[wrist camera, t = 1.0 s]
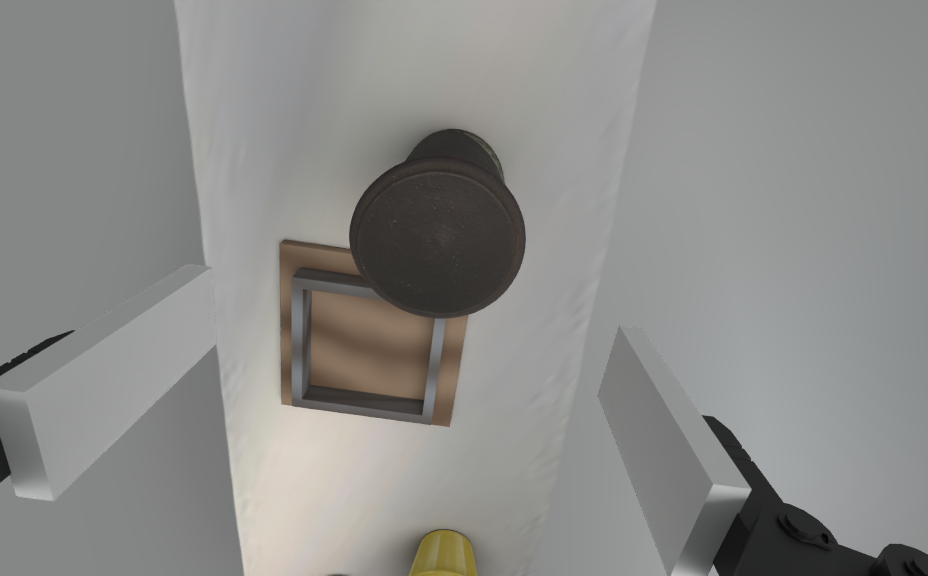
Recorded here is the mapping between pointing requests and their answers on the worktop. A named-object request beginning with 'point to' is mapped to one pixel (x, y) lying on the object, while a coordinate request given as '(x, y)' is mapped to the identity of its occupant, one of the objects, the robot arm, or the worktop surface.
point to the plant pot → (444, 555)
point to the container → (440, 229)
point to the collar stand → (360, 343)
